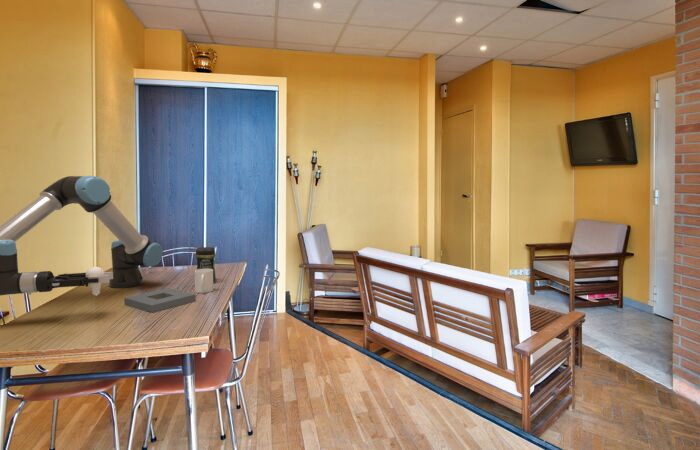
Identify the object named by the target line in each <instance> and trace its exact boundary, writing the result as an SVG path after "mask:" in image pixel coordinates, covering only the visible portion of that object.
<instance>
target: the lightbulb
mask: <svg viewBox="0 0 700 450" xmlns="http://www.w3.org/2000/svg"><path fill="white" fill-rule="evenodd" d="M104 272H105V271H104V269H103V268H101V267H99V266H91V267H90V268H89V269H87V270H86V271H85V273H86V277H87V278H88V279H89V277H93V276H105V273H104ZM89 285H90V289H91V293H92V296H93V295H94V296H98V295H100V294H101V287H102V283H99V284H89Z"/></svg>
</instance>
